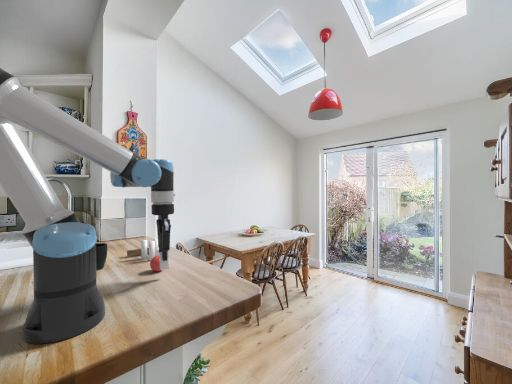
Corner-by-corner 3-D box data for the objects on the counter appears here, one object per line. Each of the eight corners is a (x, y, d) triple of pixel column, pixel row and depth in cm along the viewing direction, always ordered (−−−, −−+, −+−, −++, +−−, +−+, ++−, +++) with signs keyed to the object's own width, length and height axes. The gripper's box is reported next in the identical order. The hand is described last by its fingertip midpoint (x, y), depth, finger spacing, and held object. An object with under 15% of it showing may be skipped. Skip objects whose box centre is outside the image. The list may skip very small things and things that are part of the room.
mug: (107, 262, 104) (106, 240, 103) (107, 269, 94) (107, 246, 94) (84, 265, 99) (83, 242, 99) (82, 273, 89) (81, 248, 89)
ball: (167, 271, 91) (167, 256, 91) (151, 274, 88) (151, 258, 88) (164, 267, 97) (164, 252, 96) (148, 270, 93) (148, 254, 93)
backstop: (167, 252, 120) (167, 246, 120) (127, 257, 110) (127, 251, 110) (166, 251, 121) (166, 245, 121) (127, 256, 112) (127, 250, 112)
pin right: (159, 257, 110) (159, 239, 110) (153, 258, 109) (153, 239, 109) (158, 256, 113) (158, 238, 112) (152, 256, 111) (152, 239, 111)
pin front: (155, 260, 106) (155, 241, 105) (149, 261, 104) (149, 242, 104) (154, 259, 108) (154, 240, 107) (148, 260, 106) (148, 241, 106)
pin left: (147, 259, 108) (147, 240, 108) (141, 259, 107) (141, 241, 106) (146, 257, 110) (146, 239, 110) (141, 258, 109) (141, 240, 108)
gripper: (178, 203, 81) (179, 272, 81) (169, 201, 92) (170, 262, 92) (154, 204, 76) (156, 276, 77) (148, 202, 88) (150, 265, 88)
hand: (164, 268), depth 85 cm, fingers closed
